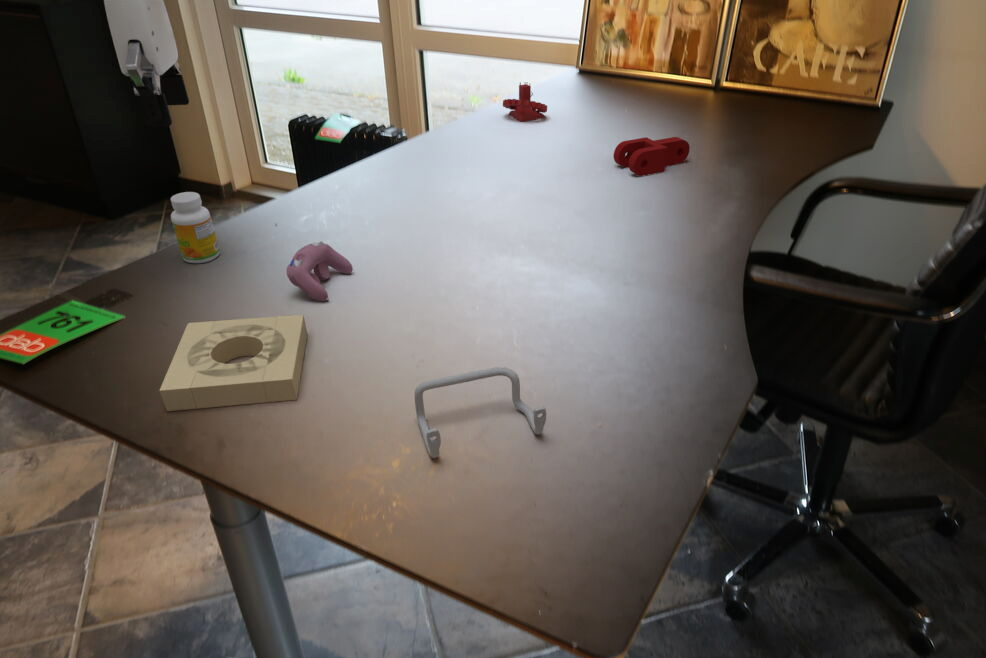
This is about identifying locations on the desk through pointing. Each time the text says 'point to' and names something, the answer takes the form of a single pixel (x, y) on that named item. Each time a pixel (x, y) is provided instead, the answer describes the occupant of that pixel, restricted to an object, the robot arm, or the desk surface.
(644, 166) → the mechanical linkage
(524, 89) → the red cross-shaped piece
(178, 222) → the supplement bottle
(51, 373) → the desk surface
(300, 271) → the video game controller
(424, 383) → the bracket
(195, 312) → the desk surface
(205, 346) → the socket pad
